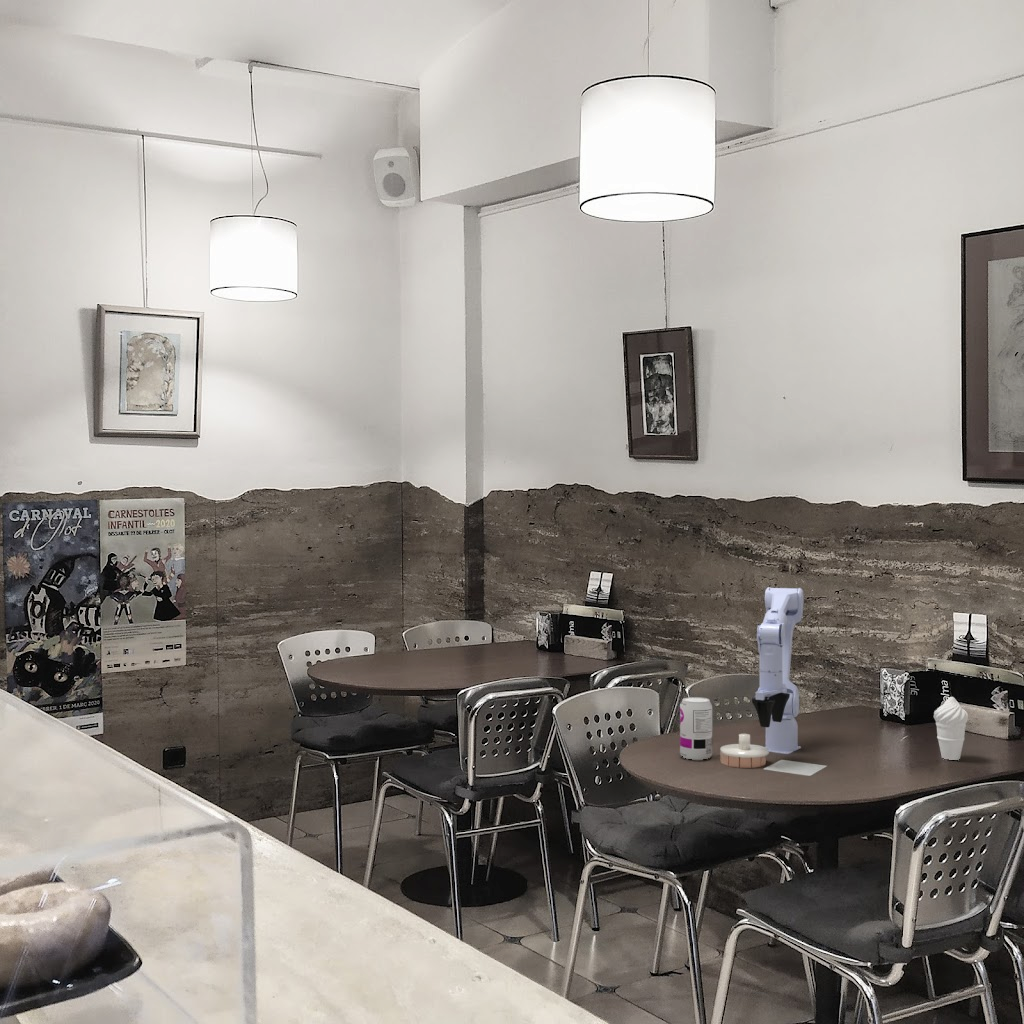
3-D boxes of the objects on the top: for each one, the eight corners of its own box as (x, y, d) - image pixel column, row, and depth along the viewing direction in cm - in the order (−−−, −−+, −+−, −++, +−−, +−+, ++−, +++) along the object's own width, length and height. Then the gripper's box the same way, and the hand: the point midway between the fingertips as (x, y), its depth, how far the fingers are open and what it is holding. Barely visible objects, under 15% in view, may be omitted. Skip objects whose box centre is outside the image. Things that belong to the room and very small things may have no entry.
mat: (781, 761, 295) (781, 759, 295) (827, 767, 288) (827, 765, 288) (762, 770, 285) (762, 769, 285) (809, 777, 279) (809, 775, 278)
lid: (732, 744, 301) (732, 728, 301) (776, 750, 294) (776, 733, 294) (712, 753, 291) (712, 736, 291) (757, 759, 284) (757, 742, 284)
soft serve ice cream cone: (960, 764, 291) (960, 701, 290) (927, 759, 296) (928, 697, 296) (973, 758, 297) (973, 696, 296) (941, 753, 302) (941, 692, 302)
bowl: (731, 756, 300) (731, 745, 300) (772, 762, 294) (772, 750, 294) (713, 765, 291) (713, 753, 291) (754, 771, 285) (754, 759, 285)
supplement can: (677, 759, 298) (676, 701, 298) (684, 752, 305) (684, 696, 305) (708, 762, 295) (708, 703, 295) (715, 755, 302) (714, 697, 302)
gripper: (774, 676, 285) (774, 731, 285) (797, 668, 296) (797, 721, 297) (747, 673, 289) (747, 727, 289) (771, 665, 301) (771, 718, 301)
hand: (771, 724), depth 293 cm, fingers open, 7 cm apart
